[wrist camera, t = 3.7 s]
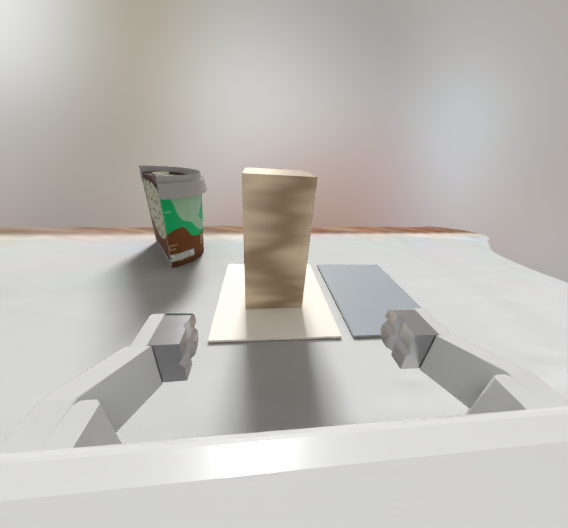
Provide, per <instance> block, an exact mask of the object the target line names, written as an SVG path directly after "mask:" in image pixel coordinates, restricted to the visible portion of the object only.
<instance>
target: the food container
mask: <svg viewBox="0 0 568 528" xmlns="http://www.w3.org/2000/svg"><path fill="white" fill-rule="evenodd" d="M139 168H140V173H141V178H142V182H143V185H144V189H145V194H146V198H147V202H148V207H149V211H150V215H151V220H152V224H153V228H154V233H155V237H156V241H157V243H158V245H159V247H160V248H161V250H162V252H163V253H164V255H165V257H166V258H167V260H168V262H169V264H170V265H171V267H172V268H174V267H178V266H182V265H184V264H187V263H189V262H192V261H194V260H195V259H197V258H198V257H200V256H201V255H202V253H203V252H204V247H203V216H202V193H205V192H206V191H207V187H206V184H205V181H204V178H203V177H202V176H201V173H200V171H199V170H195V169H190V168H181V167H168V166H139Z"/></svg>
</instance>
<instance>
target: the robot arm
mask: <svg viewBox="0 0 568 528" xmlns="http://www.w3.org/2000/svg"><path fill="white" fill-rule="evenodd" d="M385 318H386V320H387V321H386V322H385V323H384V324H383V325H382V328H381V338H382V341H383V343H384V344H385V346H386V347H387V348H389V349H390V350H392V354H391V355H392V357H393V358H394V360H395V361H396V363H397V364H398V366H399V367H400V369H407V368H420V370H421V371H423V372H424V373H425V374H426V375H428V376H429V377H430V378H432V379H433V380H434V381H435V382H437V383H438V384H439V385H440V386H442V387H443V388H444V389H446V390H447V391H448V392H449V393H451V394H452V395H453V396H454V397H456V398H457V399H458V400H459V401H461V402H462V403H463V404H465V405H466V406H467V407H468V408H470V409H469V410H468V412H467V413H466V414H465V415H456V416H445V417H433V418H421V419H409V420H397V421H386V422H374V423H362V424H350V425H338V426H326V427H314V428H302V429H290V430H278V431H266V432H255V433H243V434H231V435H219V436H207V437H195V438H183V439H172V440H160V441H148V442H136V443H124V444H121V442H120V440H119V438H118V436H117V434H116V432H117V431H118V430H119V429H120V428H121V427H122V426H123V424H124V423H125V422H126V421H127V420H128V419H129V418H130V417H131V416H132V415H133V414H134V413H135V412H136V411H137V410H138V409H139V408H140V407H141V406H142V405H143V404H144V403H145V401H146V400H147V399H148V398H149V397H150V396H151V395H152V394H153V393H154V392H155V391H156V390H157V389H158V388H159V387H160V386H161V385H162V382H173V381H185V380H187V379H188V376H189V373H190V370H191V367H192V360H191V358H192V357H193V356H194V355H195V354H196V350H197V345H198V331H197V329H195V328H194V326H195V323H196V319H195V315H194V314H152V315H150V316H149V318H148V319H147V321H146V322H145V324H144V325H143V327H142V328H141V330H140V331H139V333H138V334H137V336H136V337H135V339H134V340H133V342H132V344H131V345H130V347H124V348H122V349H121V350H119V351H117V352H116V353H114V354H113V355H111V356H110V357H108V358H106V359H105V360H103V361H102V362H100V363H99V364H97V365H95V366H94V367H92V368H91V369H89V370H87V371H86V372H84V373H83V374H81V375H80V376H78V377H76V378H75V379H73V380H72V381H70V382H69V383H67V384H65V385H64V386H62V387H61V388H59V389H57V390H56V391H54V392H53V393H51V394H50V395H48V396H46V397H45V398H43V399H42V400H40V401H39V402H38V403H37V404H36V405H35V406H34V407H33V408H32V410H31V411H30V412H29V413H28V414H27V415H26V416H25V417H24V419H23V420H22V421H21V422H20V423H19V424H18V425H17V427H16V428H15V429H14V430H13V431H12V432H11V433H10V435H9V436H8V437H7V438H6V439H5V440H4V441H3V443H2V444H1V445H0V528H568V401H567V400H565V399H564V398H563V397H562V396H560V395H559V394H558V393H557V392H555V391H554V390H553V389H552V388H551V387H549V386H548V385H547V384H546V383H544V382H543V381H542V380H541V379H540V378H538V377H537V376H536V375H535V374H533V373H532V372H531V371H529V370H527V369H525V368H522V367H520V366H518V365H516V364H514V363H512V362H510V361H508V360H506V359H504V358H502V357H500V356H498V355H496V354H494V353H492V352H490V351H488V350H486V349H484V348H482V347H480V346H478V345H476V344H474V343H471V342H469V341H467V340H465V339H463V338H461V337H459V336H457V335H452V334H451V333H450V332H449V331H448V330H447V329H446V328H444V327H443V326H442V325H441V324H440V323H439V322H438V321H437V320H436V319H435V318H434V317H433V316H432V315H431V314H430V313H429V312H428V311H427V310H425V309H423V308H417V309H394V310H388V311H387V313H386V316H385Z"/></svg>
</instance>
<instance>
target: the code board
mask: <svg viewBox="0 0 568 528" xmlns="http://www.w3.org/2000/svg"><path fill="white" fill-rule="evenodd" d="M317 267H318V269H319V271H320V273H321V275H322V276H323V278H324V280H325V282H326V284H327V286H328V288H329V290H330V292H331V294H332V296H333V298H334V300H335V302H336V304H337V306H338V308H339V310H340V312H341V314H342V316H343V318H344V320H345V322H346V324H347V326H348V328H349V330H350V332H351V334H352V336H353V337H379V336H381V328H382V325H383V324H384V323H385V322H386V321H387V320H386V318H385V316H386V313H387V311H388V310H394V309H417V308H421V307H420V306H419V305H418V304H417V303H416V302H415V301H414V300H413V299H412V298H411V297H410V296H409V295H408V294H407V293H406V292H405V291H404V290H403V289H402V288H401V287H400V286H398V285H397V284H396V283H395V282H394V281H393V280H392V279H391V278H390V277H389V276H388V275H387V274H386V273H385V272H384V271H383V270H382V269H381V268H380V267H379V266H378V265H317ZM323 338H341V334H340V332H339V330H338V327H337V325H336V323H335V321H334V318H333V316H332V314H331V312H330V309H329V307H328V305H327V303H326V300H325V298H324V296H323V294H322V291H321V289H320V287H319V285H318V282H317V280H316V278H315V275H314V273H313V271H312V269H311V266H310V264H307V268H306V276H305V285H304V293H303V302H302V308H247V309H246V307H245V269H244V264H228V267H227V270H226V274H225V278H224V282H223V285H222V289H221V293H220V297H219V301H218V304H217V308H216V312H215V316H214V319H213V323H212V327H211V331H210V334H209V338H208V343H210V342H238V341H267V340H295V339H323Z"/></svg>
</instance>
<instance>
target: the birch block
mask: <svg viewBox="0 0 568 528" xmlns="http://www.w3.org/2000/svg"><path fill="white" fill-rule="evenodd" d="M316 184H317V177H316V176H314V175H312V174H310V173H308V172H306V171H300V170H299V171H297V170H282V169H264V168H247V167H246V168H245V170H244V171H243V172H242V194H243V232H244V269H245V307H246V309H247V308H302V302H303V293H304V285H305V276H306V268H307V260H308V251H309V243H310V235H311V226H312V218H313V210H314V200H315V193H316Z"/></svg>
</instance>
